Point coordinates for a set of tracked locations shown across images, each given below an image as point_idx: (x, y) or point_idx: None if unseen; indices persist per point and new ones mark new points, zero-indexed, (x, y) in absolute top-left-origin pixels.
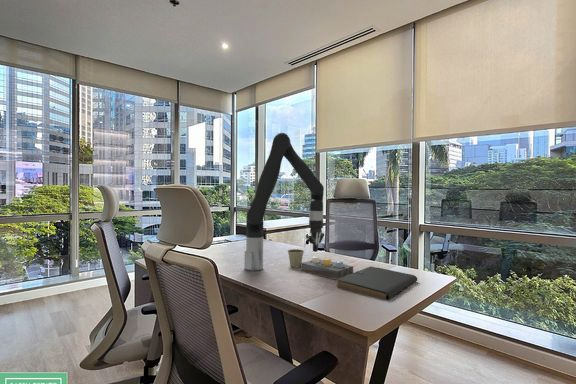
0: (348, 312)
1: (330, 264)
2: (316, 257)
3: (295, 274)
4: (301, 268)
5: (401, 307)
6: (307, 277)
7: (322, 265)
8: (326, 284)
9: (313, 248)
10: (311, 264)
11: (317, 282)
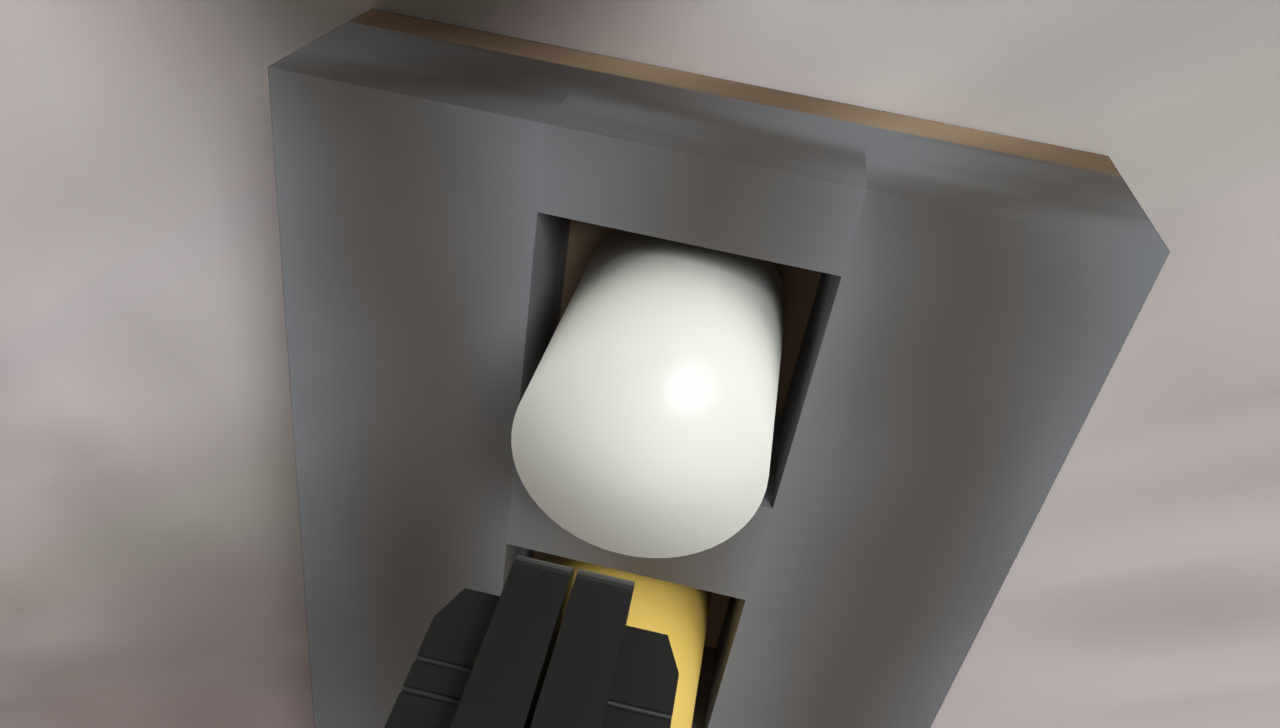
0: None
1: None
2: (641, 487)
3: (24, 69)
4: (346, 27)
5: None
6: (95, 366)
7: None
8: (93, 673)
9: (409, 691)
10: (355, 381)
11: (51, 569)
